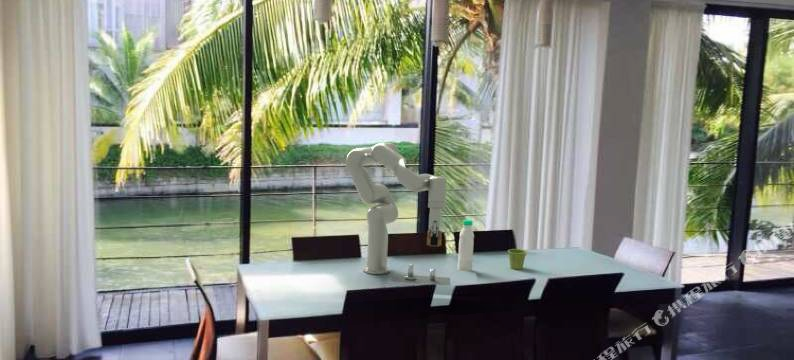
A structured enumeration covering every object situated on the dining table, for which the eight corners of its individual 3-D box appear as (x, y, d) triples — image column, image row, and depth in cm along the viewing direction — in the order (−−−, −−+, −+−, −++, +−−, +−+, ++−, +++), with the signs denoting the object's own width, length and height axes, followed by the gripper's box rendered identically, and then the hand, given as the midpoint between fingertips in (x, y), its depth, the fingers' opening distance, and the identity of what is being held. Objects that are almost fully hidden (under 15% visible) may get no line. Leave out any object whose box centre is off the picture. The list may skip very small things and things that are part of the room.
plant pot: (517, 271, 328) (518, 254, 326) (502, 267, 335) (504, 250, 334) (529, 269, 334) (530, 252, 332) (515, 264, 341) (516, 248, 340)
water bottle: (474, 270, 327) (477, 220, 323) (468, 273, 321) (471, 222, 317) (461, 267, 330) (464, 218, 327) (454, 270, 324) (458, 220, 321)
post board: (393, 277, 308) (393, 273, 308) (450, 280, 306) (450, 277, 306) (391, 284, 296) (391, 281, 296) (449, 288, 294) (450, 285, 294)
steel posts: (405, 276, 304) (405, 262, 303) (435, 278, 303) (436, 264, 302) (404, 279, 299) (404, 265, 298) (434, 281, 298) (435, 267, 297)
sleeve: (427, 242, 302) (427, 229, 301) (441, 243, 301) (442, 230, 301) (426, 245, 296) (427, 232, 295) (441, 246, 295) (441, 233, 294)
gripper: (428, 200, 305) (426, 238, 307) (427, 207, 288) (424, 247, 290) (445, 201, 304) (442, 239, 307) (444, 208, 287) (442, 248, 290)
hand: (434, 243), depth 298 cm, fingers closed on sleeve, 6 cm apart
